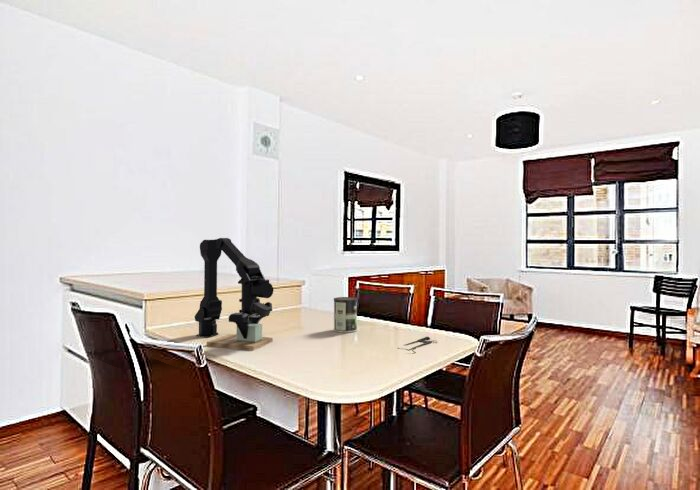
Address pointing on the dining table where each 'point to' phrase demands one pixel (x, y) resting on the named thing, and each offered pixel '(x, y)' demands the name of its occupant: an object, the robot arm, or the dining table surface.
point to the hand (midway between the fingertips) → (249, 337)
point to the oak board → (238, 342)
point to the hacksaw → (419, 345)
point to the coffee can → (345, 314)
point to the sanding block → (251, 333)
